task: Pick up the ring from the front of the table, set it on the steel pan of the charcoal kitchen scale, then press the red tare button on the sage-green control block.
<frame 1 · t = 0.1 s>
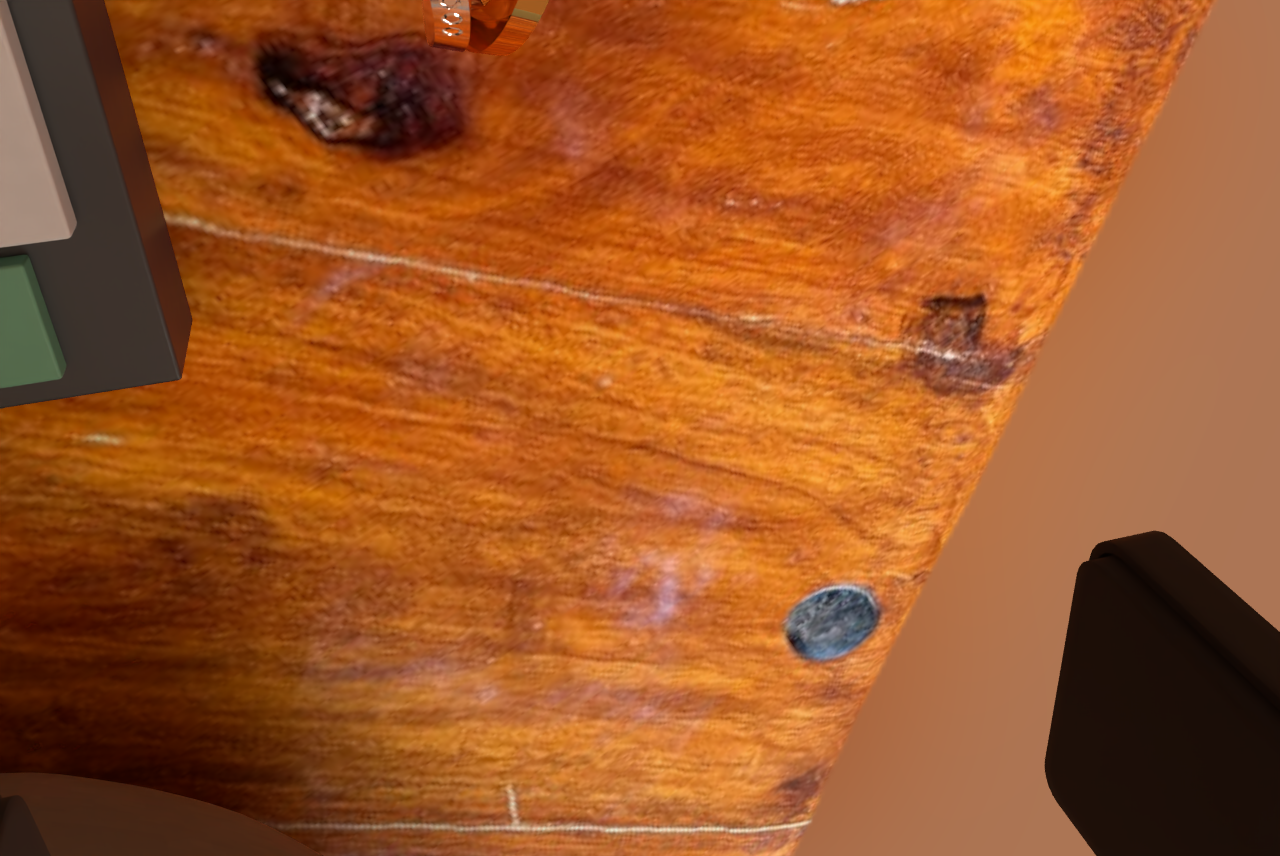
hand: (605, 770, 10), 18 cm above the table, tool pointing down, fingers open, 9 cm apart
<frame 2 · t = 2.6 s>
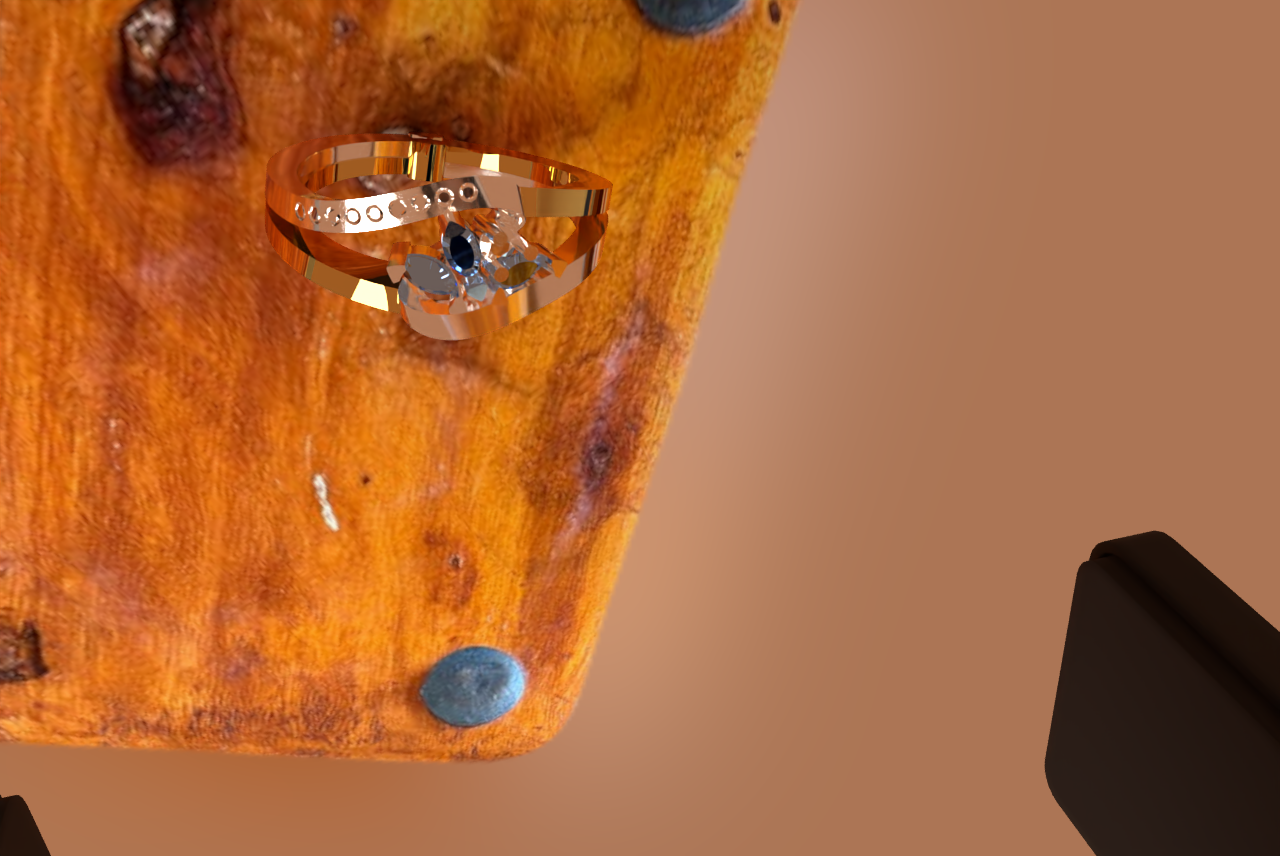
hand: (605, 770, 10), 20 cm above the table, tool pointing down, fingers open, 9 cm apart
ring: (422, 147, 27), on the table
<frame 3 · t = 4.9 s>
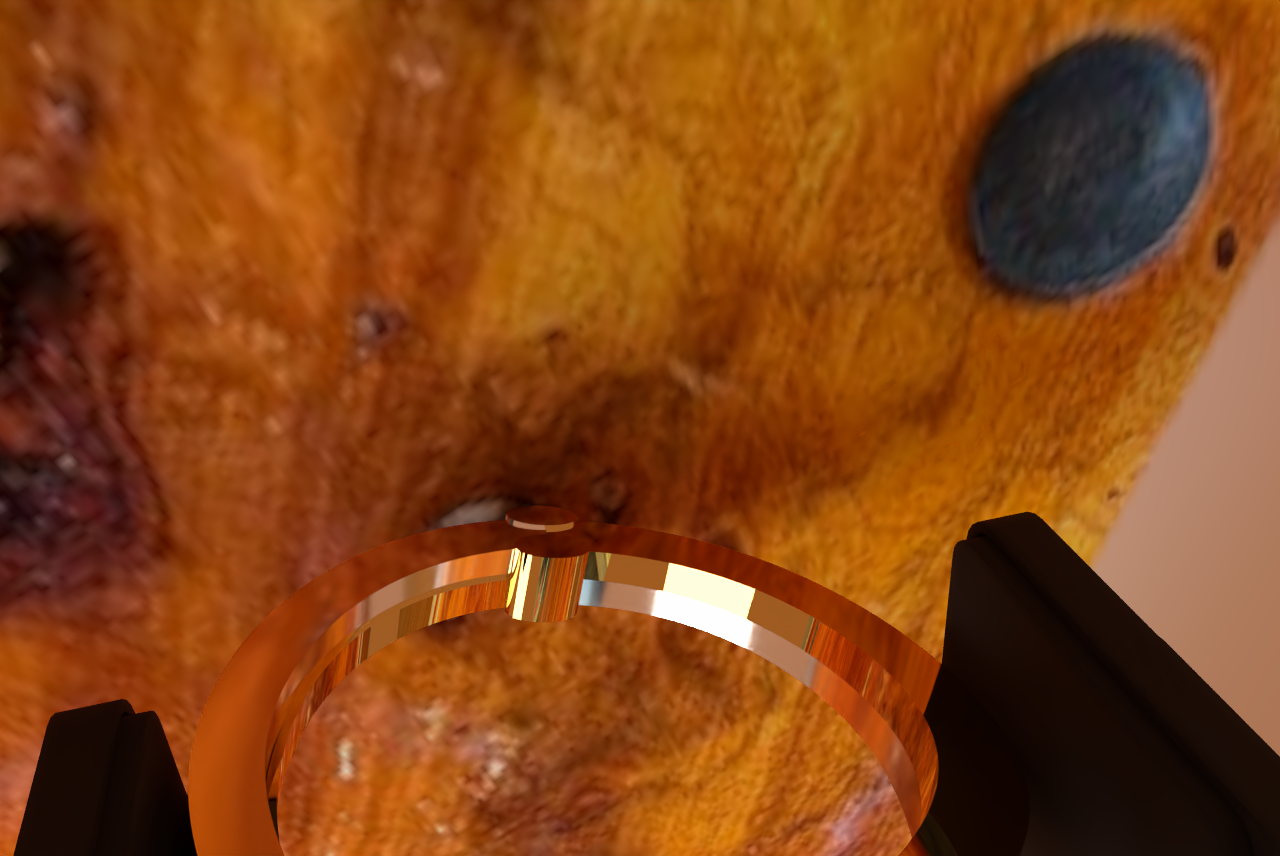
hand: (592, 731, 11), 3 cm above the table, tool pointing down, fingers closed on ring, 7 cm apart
ring: (530, 526, 14), on the table, touching gripper
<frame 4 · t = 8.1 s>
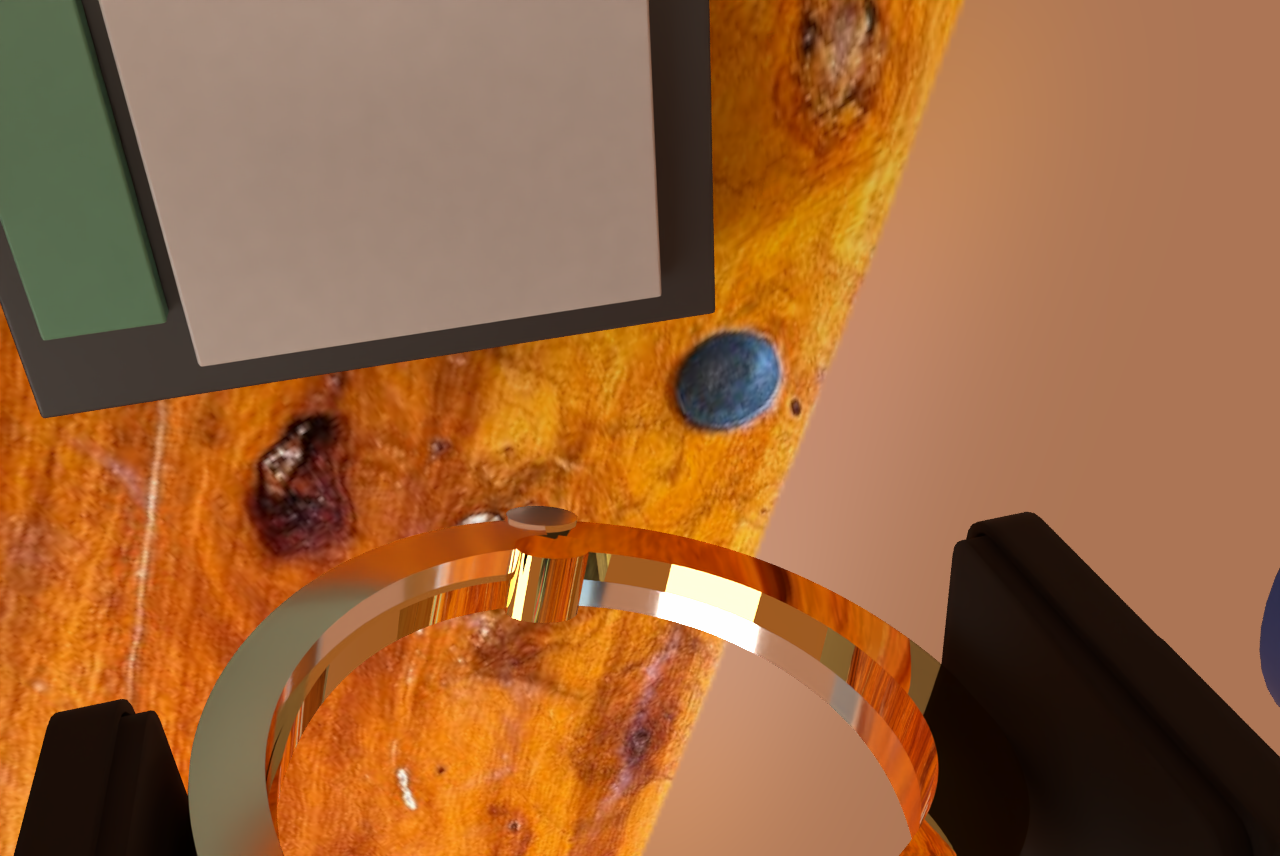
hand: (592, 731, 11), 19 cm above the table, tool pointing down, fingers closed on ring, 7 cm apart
scale: (344, 62, 25), on the table
ring: (530, 527, 14), point 16 cm above the table, touching gripper
when the fingers open (7 cm above the table, at t = 11.4 s): ring stays where it is, resting on scale.
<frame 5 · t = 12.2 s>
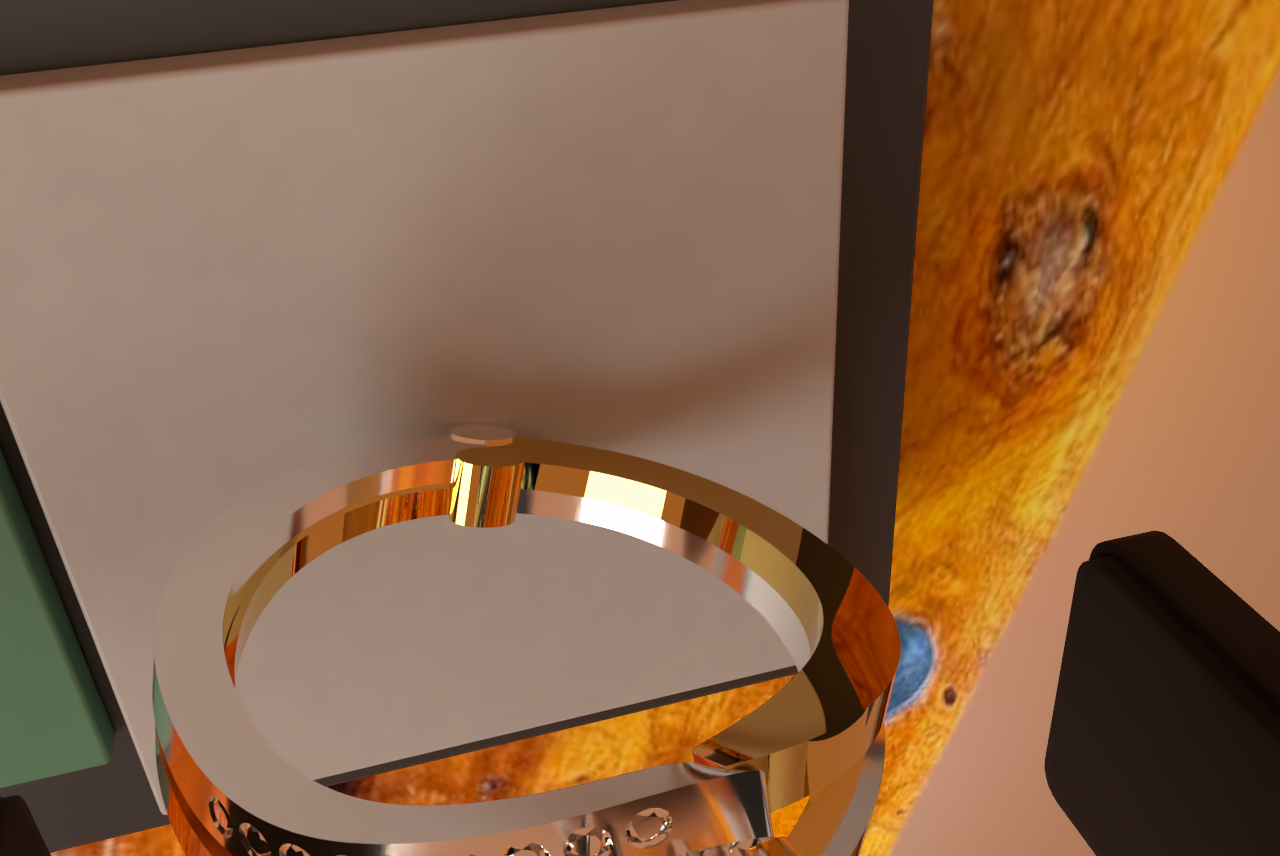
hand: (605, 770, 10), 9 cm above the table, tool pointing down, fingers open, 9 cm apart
scale: (368, 337, 18), on the table
ring: (473, 444, 15), point 4 cm above the table, touching scale
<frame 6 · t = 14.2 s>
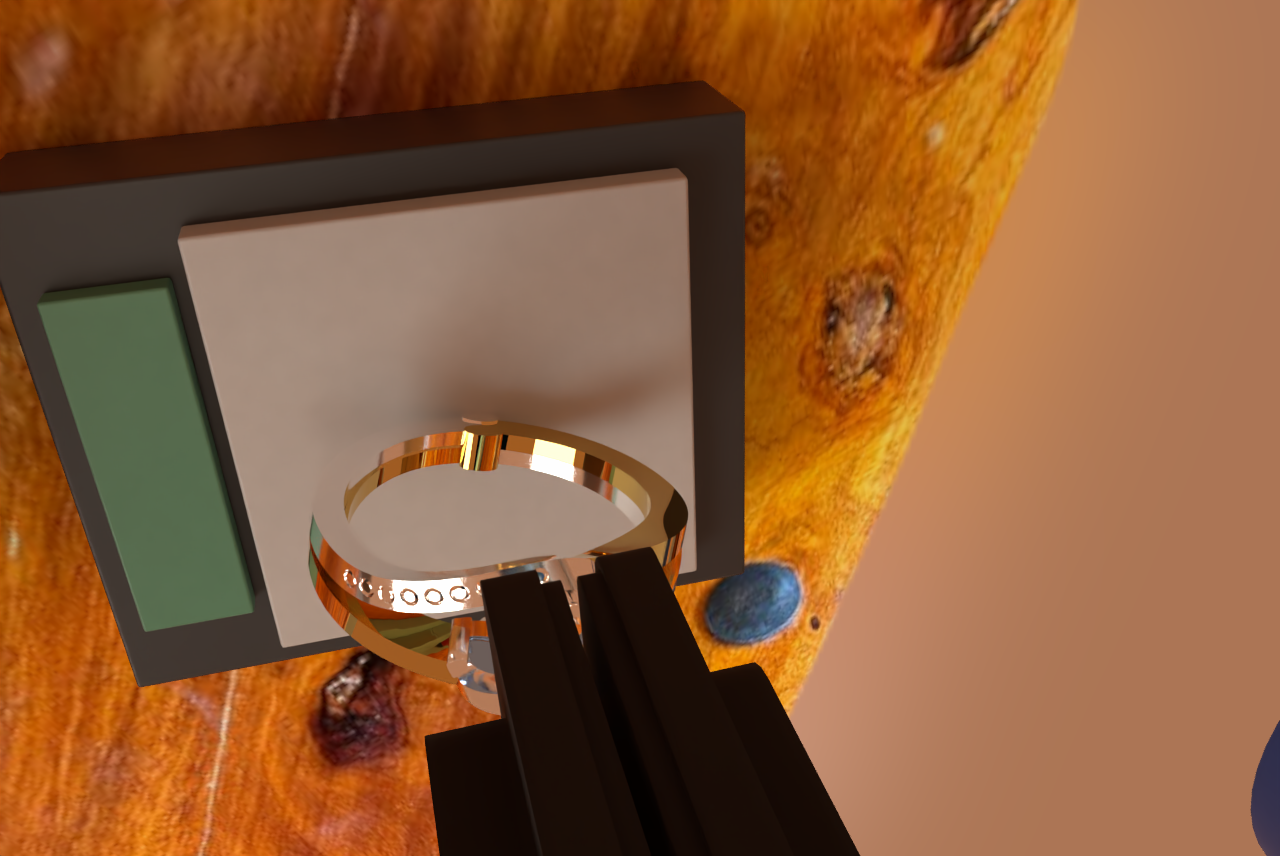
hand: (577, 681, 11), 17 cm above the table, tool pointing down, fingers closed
scale: (413, 360, 28), on the table
ring: (475, 425, 25), point 4 cm above the table, touching scale
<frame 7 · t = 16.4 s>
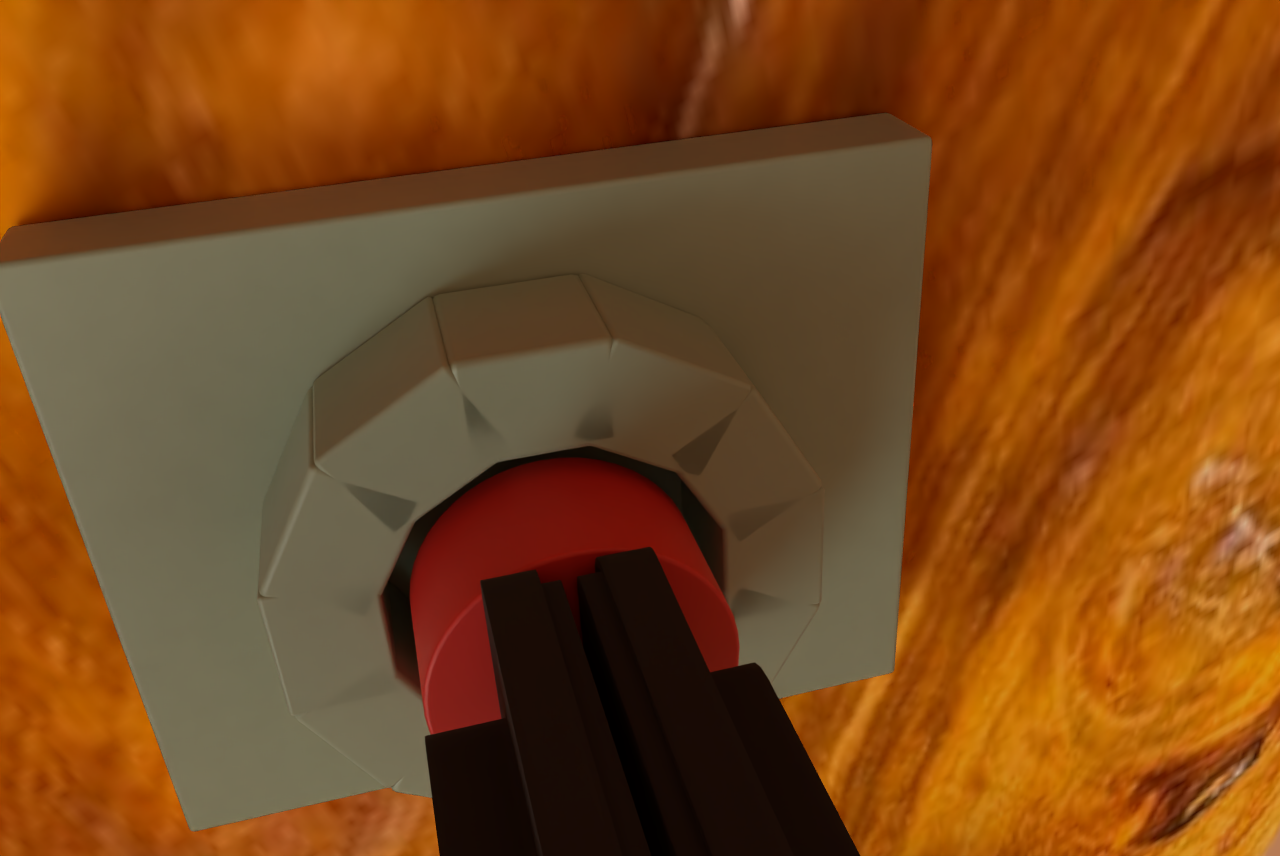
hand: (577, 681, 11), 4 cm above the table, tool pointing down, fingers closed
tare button: (569, 628, 12), point 3 cm above the table, slide at 0.1 cm, touching gripper
tare block: (518, 463, 15), on the table
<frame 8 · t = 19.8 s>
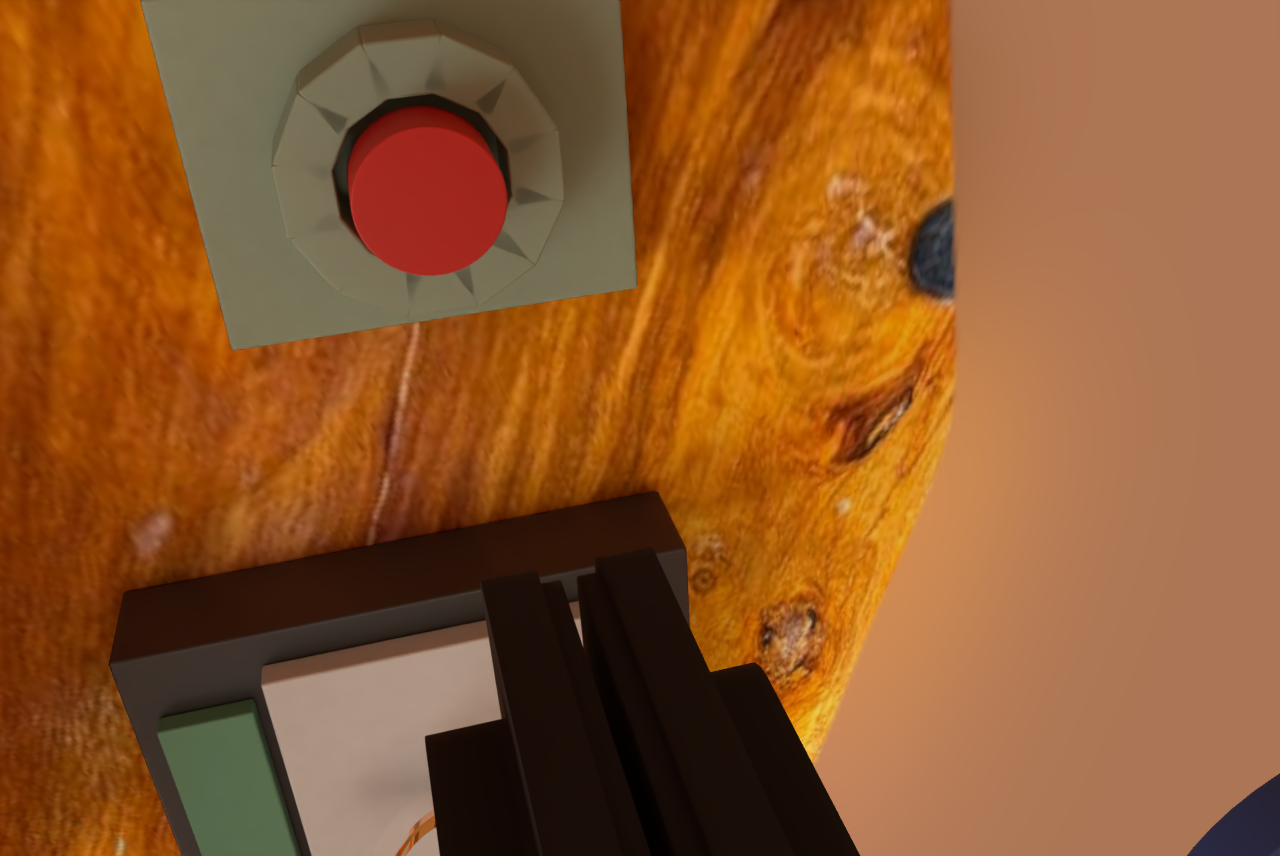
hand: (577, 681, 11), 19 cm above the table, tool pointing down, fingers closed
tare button: (426, 190, 24), point 3 cm above the table, slide at 0.1 cm
scale: (433, 696, 36), on the table
tare block: (412, 145, 27), on the table
ring: (483, 775, 33), point 4 cm above the table, touching scale
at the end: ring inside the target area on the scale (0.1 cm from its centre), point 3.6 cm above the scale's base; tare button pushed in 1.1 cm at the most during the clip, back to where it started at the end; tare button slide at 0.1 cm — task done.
